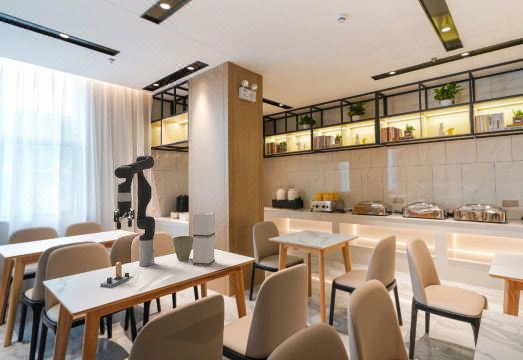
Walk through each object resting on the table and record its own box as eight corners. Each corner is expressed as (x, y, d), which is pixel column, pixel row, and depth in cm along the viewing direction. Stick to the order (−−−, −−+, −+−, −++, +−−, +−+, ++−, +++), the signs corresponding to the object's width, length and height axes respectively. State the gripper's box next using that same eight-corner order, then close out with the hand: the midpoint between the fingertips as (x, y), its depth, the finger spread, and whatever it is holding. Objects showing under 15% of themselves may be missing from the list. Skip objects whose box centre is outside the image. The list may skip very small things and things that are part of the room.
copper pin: (118, 282, 163) (118, 261, 163) (122, 283, 163) (122, 261, 163) (114, 284, 161) (114, 263, 161) (118, 285, 160) (118, 263, 160)
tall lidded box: (214, 262, 205) (214, 212, 205) (208, 266, 194) (208, 214, 195) (200, 261, 208) (200, 212, 208) (193, 265, 197) (193, 214, 197)
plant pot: (168, 261, 207) (168, 239, 207) (180, 256, 221) (180, 235, 222) (186, 263, 203) (186, 240, 203) (197, 257, 217) (197, 236, 217)
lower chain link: (124, 278, 171) (124, 271, 171) (134, 279, 169) (134, 272, 169) (108, 285, 159) (108, 278, 159) (118, 286, 157) (118, 279, 157)
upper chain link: (111, 290, 152) (111, 280, 152) (100, 289, 154) (100, 278, 154) (128, 282, 164) (128, 272, 164) (117, 281, 166) (118, 271, 166)
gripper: (127, 199, 177) (127, 226, 177) (109, 201, 163) (109, 229, 163) (138, 199, 175) (138, 226, 175) (120, 201, 161) (120, 230, 161)
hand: (124, 228), depth 169 cm, fingers open, 8 cm apart
